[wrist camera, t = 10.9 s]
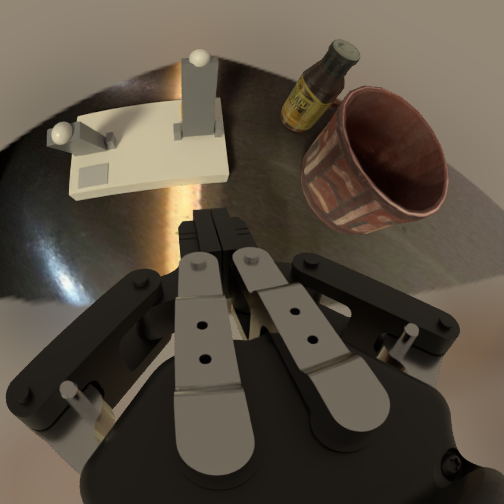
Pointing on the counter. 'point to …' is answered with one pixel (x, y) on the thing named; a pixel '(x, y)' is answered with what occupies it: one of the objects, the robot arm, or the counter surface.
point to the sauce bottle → (319, 87)
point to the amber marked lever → (199, 93)
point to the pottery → (374, 165)
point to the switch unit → (148, 152)
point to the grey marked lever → (76, 138)
